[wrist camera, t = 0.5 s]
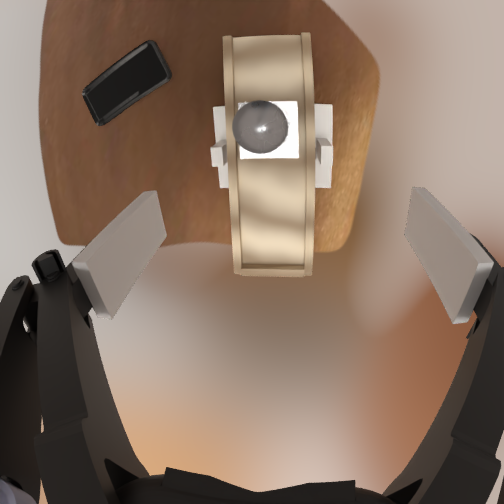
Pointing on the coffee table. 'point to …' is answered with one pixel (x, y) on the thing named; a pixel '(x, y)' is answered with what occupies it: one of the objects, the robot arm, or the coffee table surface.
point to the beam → (271, 169)
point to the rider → (267, 129)
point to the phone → (126, 82)
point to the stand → (321, 144)
